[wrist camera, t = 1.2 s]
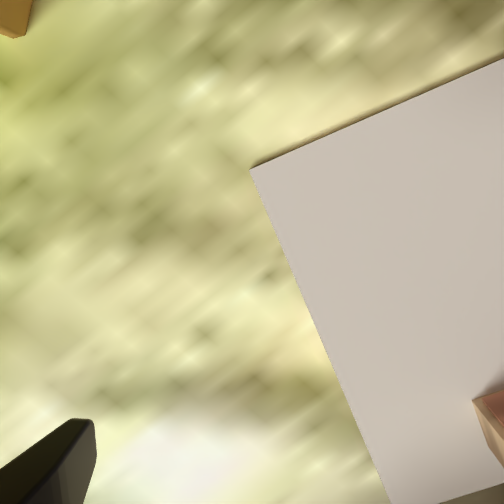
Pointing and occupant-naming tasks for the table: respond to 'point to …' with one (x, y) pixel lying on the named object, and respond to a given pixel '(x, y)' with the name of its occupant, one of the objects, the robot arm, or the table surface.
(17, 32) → the rubber stamp
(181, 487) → the table surface
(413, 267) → the grey rubber mat
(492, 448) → the oak tile
